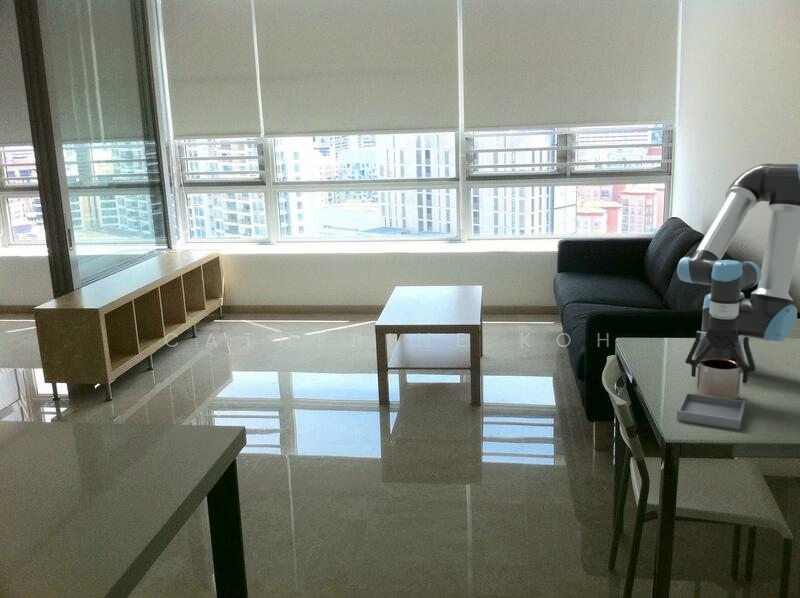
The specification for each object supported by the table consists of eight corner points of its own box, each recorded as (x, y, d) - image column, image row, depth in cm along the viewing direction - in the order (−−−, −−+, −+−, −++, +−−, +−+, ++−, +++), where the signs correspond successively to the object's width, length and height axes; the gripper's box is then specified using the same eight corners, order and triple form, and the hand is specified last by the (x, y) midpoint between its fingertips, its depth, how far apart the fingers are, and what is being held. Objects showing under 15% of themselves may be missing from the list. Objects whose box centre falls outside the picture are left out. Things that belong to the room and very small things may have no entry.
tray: (685, 400, 209) (685, 392, 208) (744, 409, 202) (745, 400, 201) (676, 419, 196) (677, 411, 195) (739, 429, 189) (740, 420, 188)
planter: (743, 403, 206) (745, 370, 204) (701, 401, 208) (704, 369, 206) (733, 389, 217) (735, 358, 214) (693, 388, 218) (695, 357, 216)
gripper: (677, 315, 209) (673, 388, 214) (769, 323, 198) (762, 400, 203) (681, 309, 216) (677, 380, 221) (770, 316, 205) (764, 392, 210)
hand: (718, 390), depth 212 cm, fingers closed on planter, 11 cm apart
